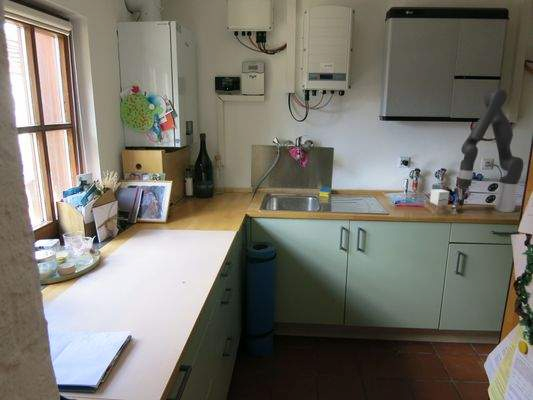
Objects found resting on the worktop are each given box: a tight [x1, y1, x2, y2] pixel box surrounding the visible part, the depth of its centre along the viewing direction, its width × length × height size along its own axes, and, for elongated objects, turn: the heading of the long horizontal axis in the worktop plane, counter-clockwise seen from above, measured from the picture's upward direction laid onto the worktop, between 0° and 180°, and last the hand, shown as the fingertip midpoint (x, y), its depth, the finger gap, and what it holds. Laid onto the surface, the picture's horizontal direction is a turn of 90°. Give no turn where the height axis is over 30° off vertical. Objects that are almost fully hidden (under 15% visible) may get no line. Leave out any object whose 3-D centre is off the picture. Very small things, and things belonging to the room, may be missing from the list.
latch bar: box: [452, 197, 459, 209], centre depth 231 cm, size 15×2×3 cm, turn 147°
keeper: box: [424, 199, 458, 215], centre depth 231 cm, size 14×14×5 cm
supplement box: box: [429, 188, 450, 205], centre depth 230 cm, size 7×7×13 cm
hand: (460, 205), depth 233 cm, fingers closed
